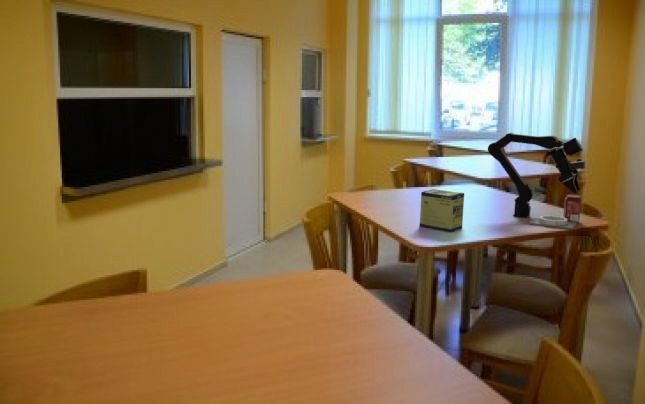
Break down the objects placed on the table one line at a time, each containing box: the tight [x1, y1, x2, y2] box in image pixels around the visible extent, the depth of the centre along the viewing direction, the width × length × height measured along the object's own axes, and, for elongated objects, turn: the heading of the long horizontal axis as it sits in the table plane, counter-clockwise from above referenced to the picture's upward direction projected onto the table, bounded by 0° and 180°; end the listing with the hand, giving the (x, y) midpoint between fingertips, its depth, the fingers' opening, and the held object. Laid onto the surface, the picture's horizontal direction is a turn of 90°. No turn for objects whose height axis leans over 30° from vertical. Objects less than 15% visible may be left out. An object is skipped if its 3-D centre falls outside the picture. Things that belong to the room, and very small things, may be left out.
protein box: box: [419, 189, 465, 233], centre depth 251 cm, size 10×16×16 cm
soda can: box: [562, 194, 582, 223], centre depth 267 cm, size 7×7×12 cm
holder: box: [528, 215, 578, 231], centre depth 261 cm, size 18×12×3 cm, turn 59°
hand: (577, 191), depth 264 cm, fingers open, 9 cm apart
